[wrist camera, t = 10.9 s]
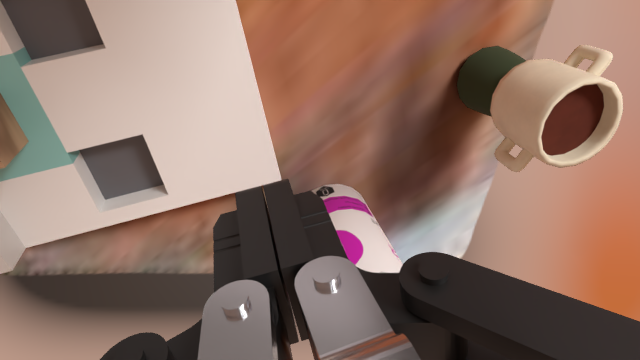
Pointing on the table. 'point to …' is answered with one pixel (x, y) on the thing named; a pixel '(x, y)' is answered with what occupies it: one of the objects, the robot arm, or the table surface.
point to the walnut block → (9, 135)
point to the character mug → (544, 104)
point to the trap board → (124, 113)
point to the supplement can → (358, 230)
